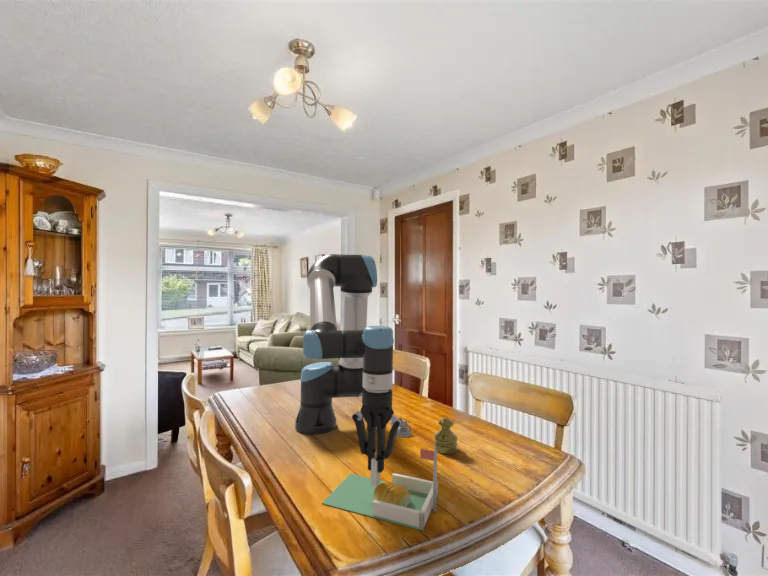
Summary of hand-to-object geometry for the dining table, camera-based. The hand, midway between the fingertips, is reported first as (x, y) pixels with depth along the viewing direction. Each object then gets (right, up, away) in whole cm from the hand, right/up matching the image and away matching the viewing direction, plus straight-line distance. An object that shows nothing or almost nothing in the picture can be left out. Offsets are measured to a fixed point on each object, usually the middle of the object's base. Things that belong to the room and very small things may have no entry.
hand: (375, 483), depth 89 cm
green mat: (+1, -4, 0) cm, 4 cm away
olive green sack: (+22, -4, +27) cm, 35 cm away
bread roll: (+4, -4, -2) cm, 6 cm away
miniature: (+9, -4, +41) cm, 42 cm away
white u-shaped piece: (+8, -3, -3) cm, 9 cm away
